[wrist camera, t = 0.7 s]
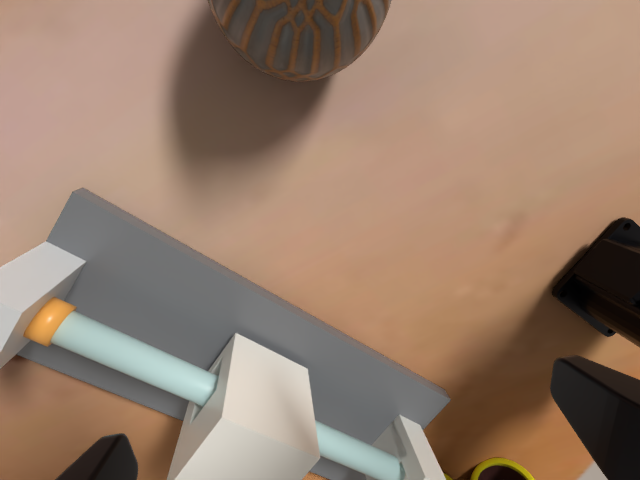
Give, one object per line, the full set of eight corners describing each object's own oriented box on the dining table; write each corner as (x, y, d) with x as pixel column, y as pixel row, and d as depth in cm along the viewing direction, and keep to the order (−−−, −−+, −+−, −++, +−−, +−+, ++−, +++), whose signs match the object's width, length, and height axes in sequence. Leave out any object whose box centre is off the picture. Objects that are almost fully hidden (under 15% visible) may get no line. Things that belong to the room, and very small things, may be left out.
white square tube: (307, 368, 22) (320, 458, 16) (262, 424, 23) (259, 527, 17) (235, 332, 20) (221, 417, 15) (191, 394, 21) (161, 495, 16)
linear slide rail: (444, 389, 26) (492, 467, 20) (360, 480, 28) (383, 573, 22) (82, 187, 18) (-3, 221, 12) (3, 333, 20) (-101, 419, 14)
